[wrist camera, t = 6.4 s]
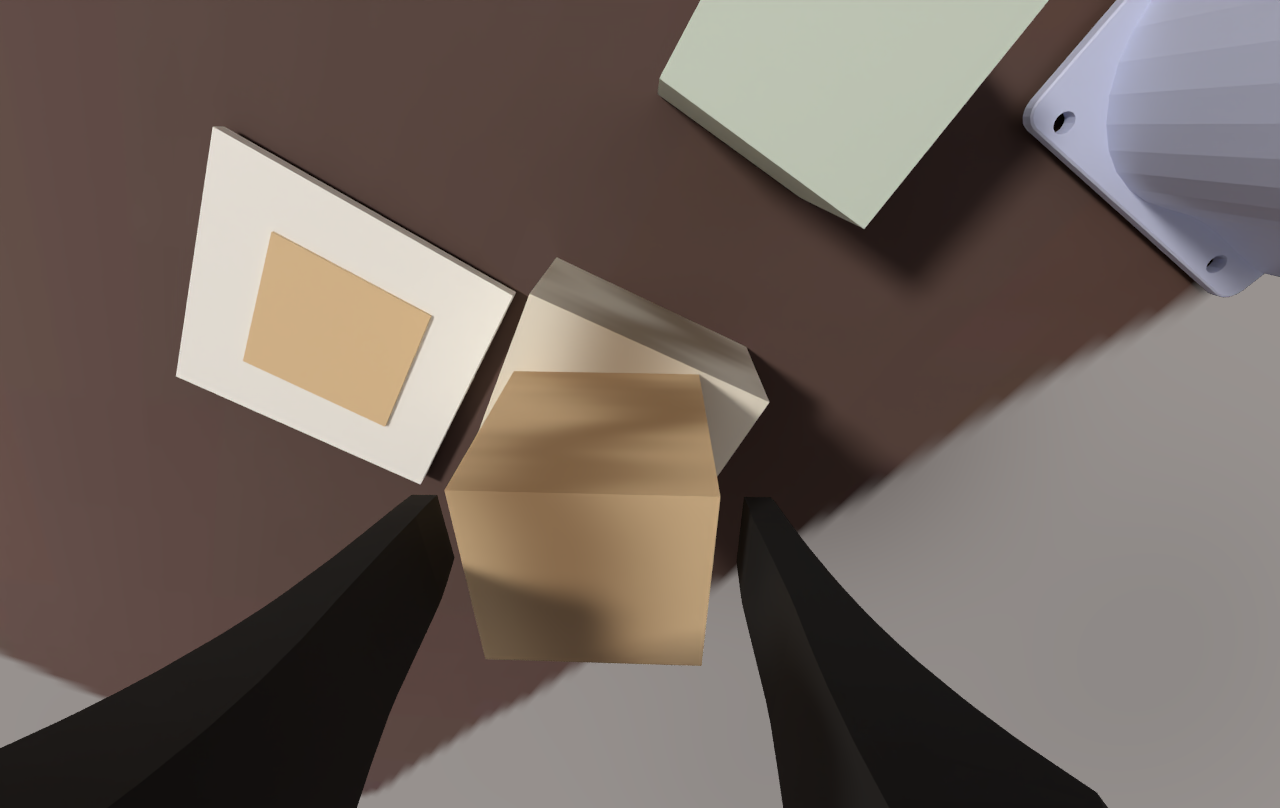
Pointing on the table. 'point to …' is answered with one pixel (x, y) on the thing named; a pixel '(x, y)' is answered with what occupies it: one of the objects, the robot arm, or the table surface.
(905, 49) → the sage cube
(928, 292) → the table surface
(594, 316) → the base block
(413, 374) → the card
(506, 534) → the oak cube
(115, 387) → the table surface
